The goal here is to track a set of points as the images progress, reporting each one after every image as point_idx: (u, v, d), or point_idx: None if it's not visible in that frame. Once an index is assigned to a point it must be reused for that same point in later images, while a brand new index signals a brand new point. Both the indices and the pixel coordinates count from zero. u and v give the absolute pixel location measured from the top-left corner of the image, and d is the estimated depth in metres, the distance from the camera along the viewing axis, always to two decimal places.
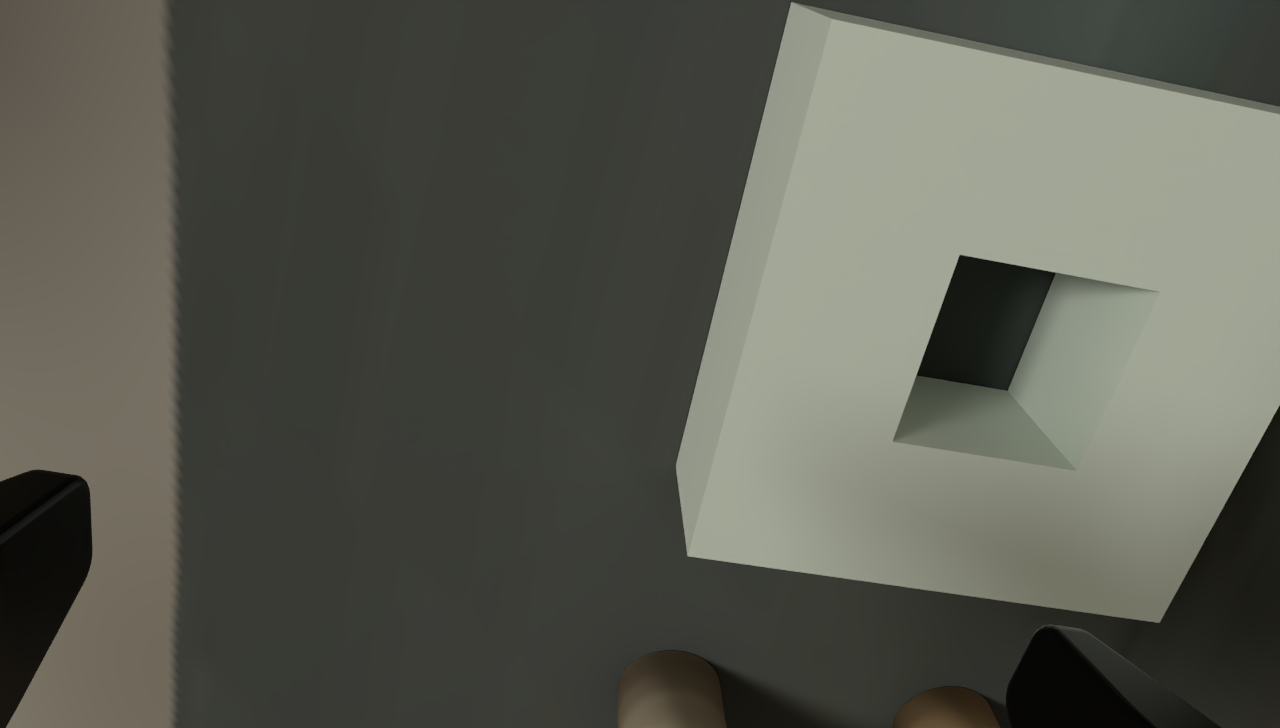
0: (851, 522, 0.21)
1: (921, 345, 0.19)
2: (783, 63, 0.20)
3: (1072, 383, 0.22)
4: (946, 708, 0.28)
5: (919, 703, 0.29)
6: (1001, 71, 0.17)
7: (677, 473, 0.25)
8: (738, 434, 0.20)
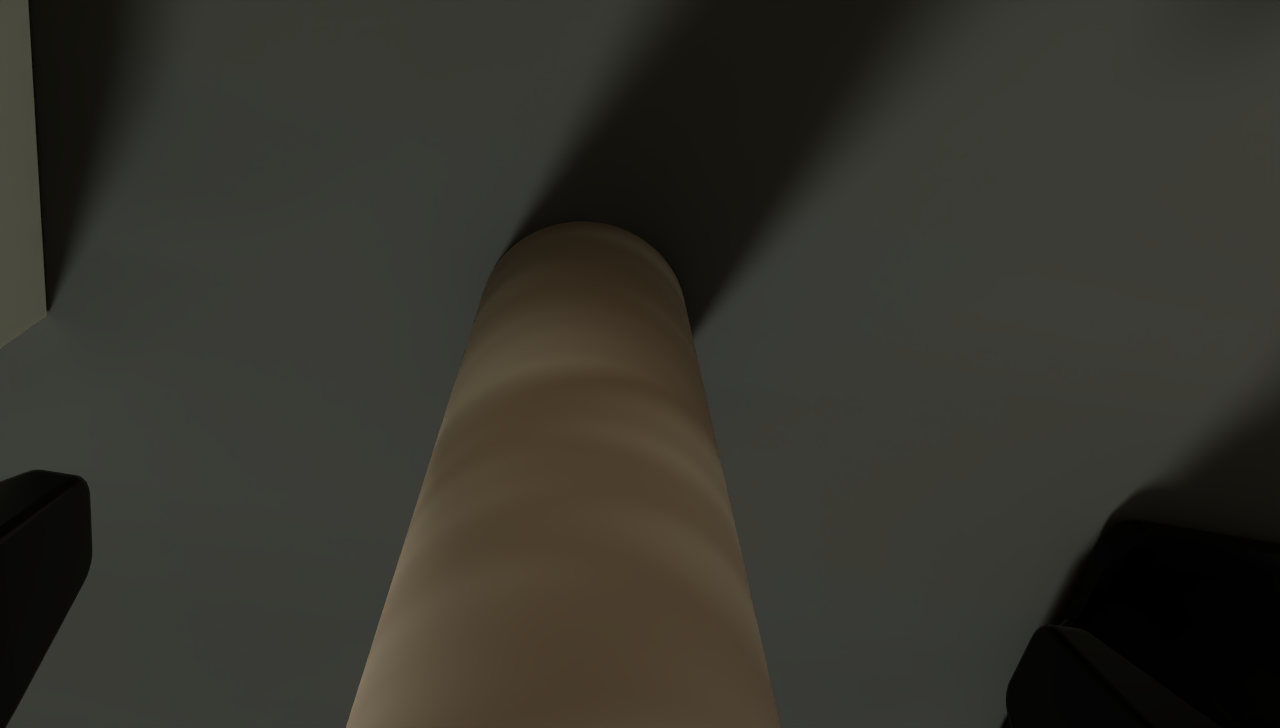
0: None
1: None
2: None
3: None
4: None
5: None
6: None
7: (23, 328, 0.14)
8: None
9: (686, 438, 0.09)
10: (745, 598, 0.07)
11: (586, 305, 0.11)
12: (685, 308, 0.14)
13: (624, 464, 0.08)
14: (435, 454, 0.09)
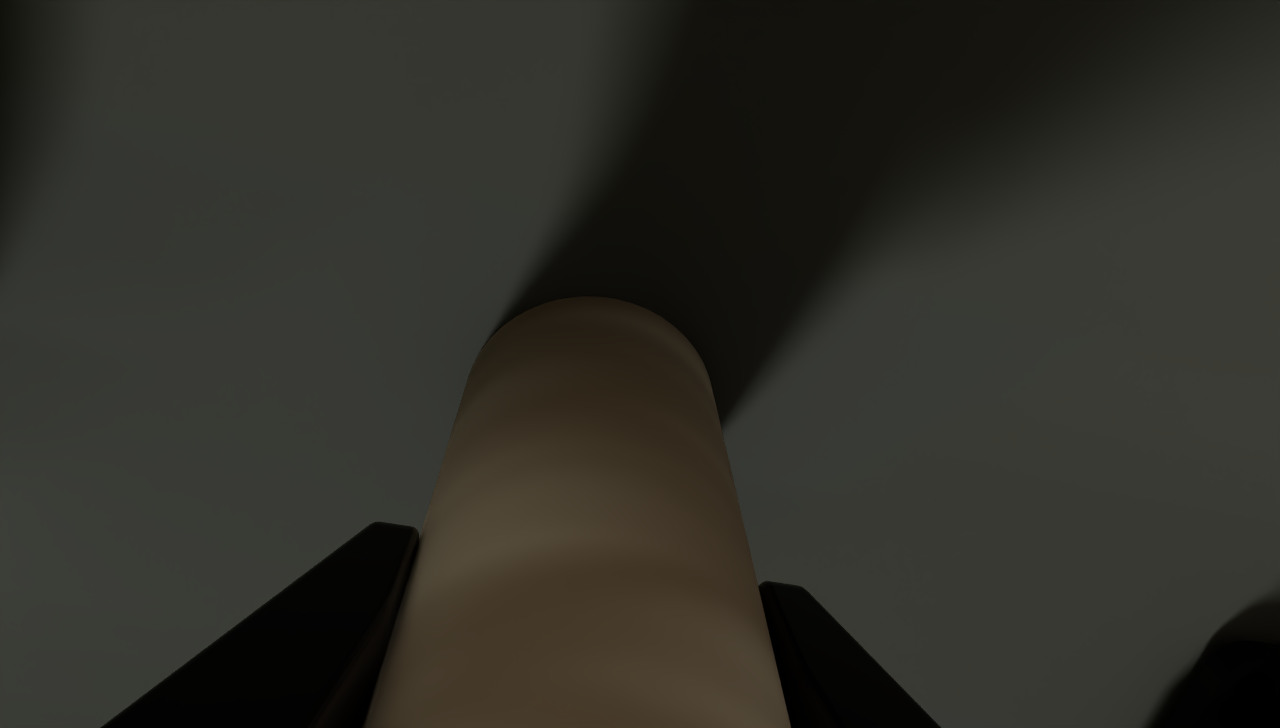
0: None
1: None
2: None
3: None
4: None
5: None
6: None
7: None
8: None
9: (735, 663, 0.06)
10: None
11: (594, 433, 0.08)
12: (715, 406, 0.11)
13: None
14: (385, 668, 0.07)
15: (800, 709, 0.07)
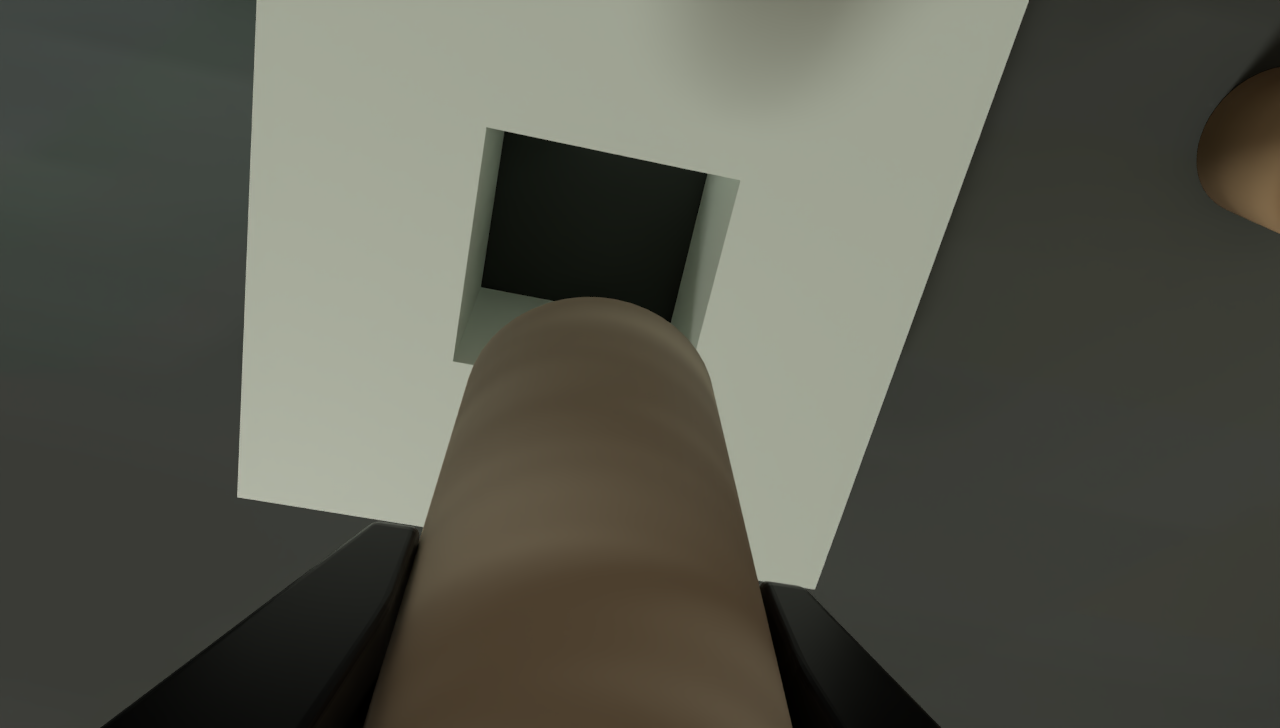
0: (789, 435, 0.18)
1: None
2: None
3: None
4: (1219, 167, 0.19)
5: (1211, 190, 0.20)
6: (258, 348, 0.17)
7: None
8: None
9: (737, 667, 0.06)
10: None
11: (595, 435, 0.08)
12: (716, 407, 0.11)
13: None
14: (384, 672, 0.07)
15: (800, 709, 0.07)
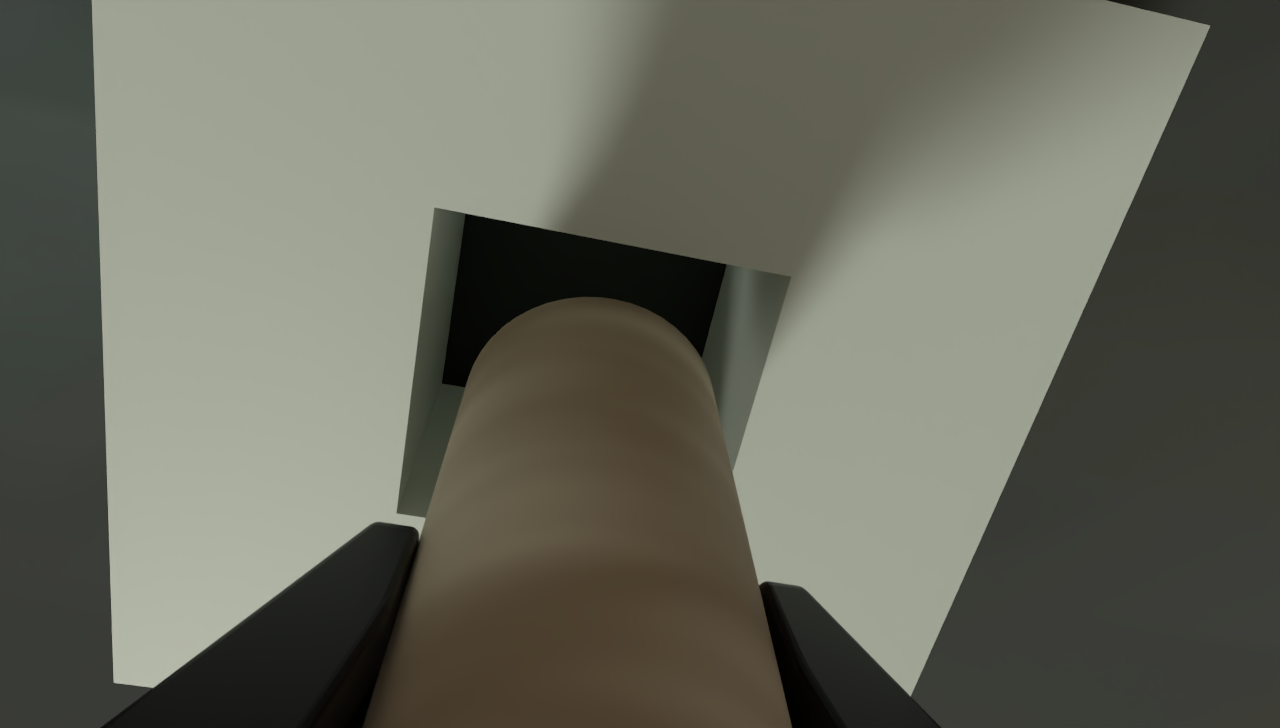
0: (847, 598, 0.14)
1: None
2: None
3: None
4: None
5: None
6: (129, 500, 0.12)
7: None
8: None
9: (737, 668, 0.06)
10: None
11: (595, 435, 0.08)
12: (716, 407, 0.11)
13: None
14: (383, 673, 0.07)
15: (800, 709, 0.07)
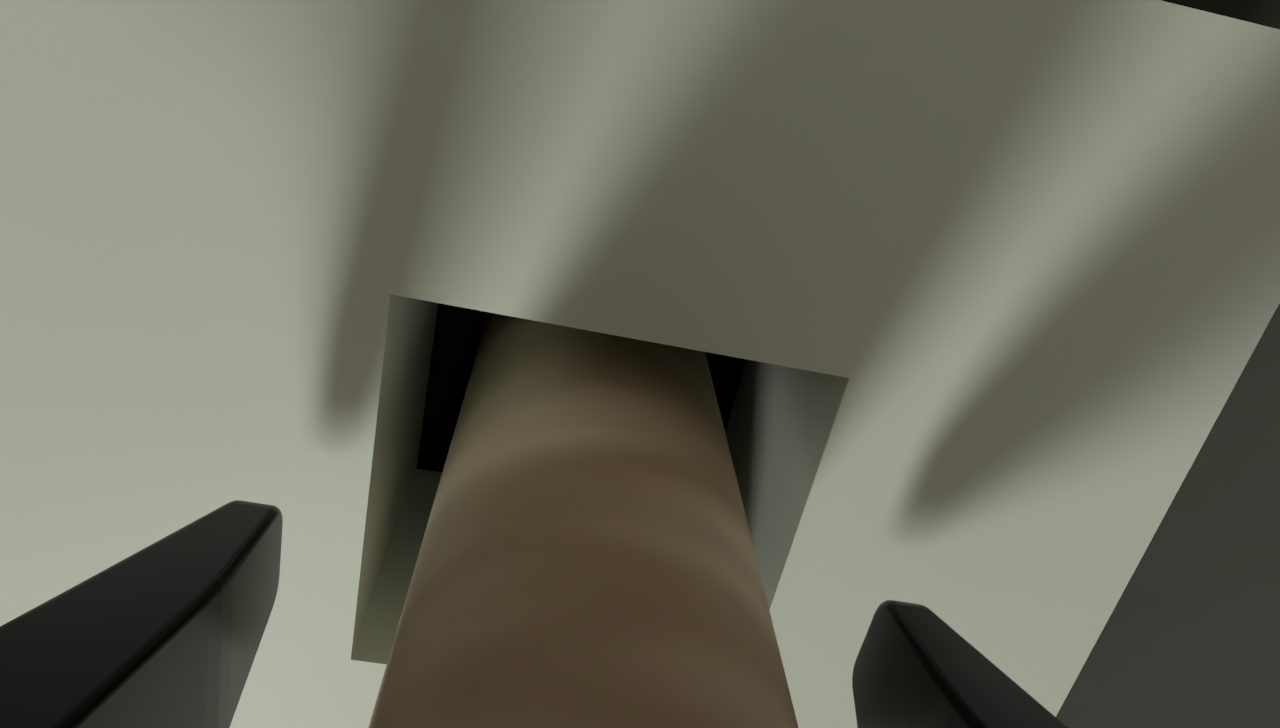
0: None
1: None
2: None
3: None
4: None
5: None
6: None
7: None
8: None
9: (717, 530, 0.08)
10: None
11: (599, 361, 0.10)
12: None
13: (650, 574, 0.06)
14: (426, 543, 0.08)
15: None
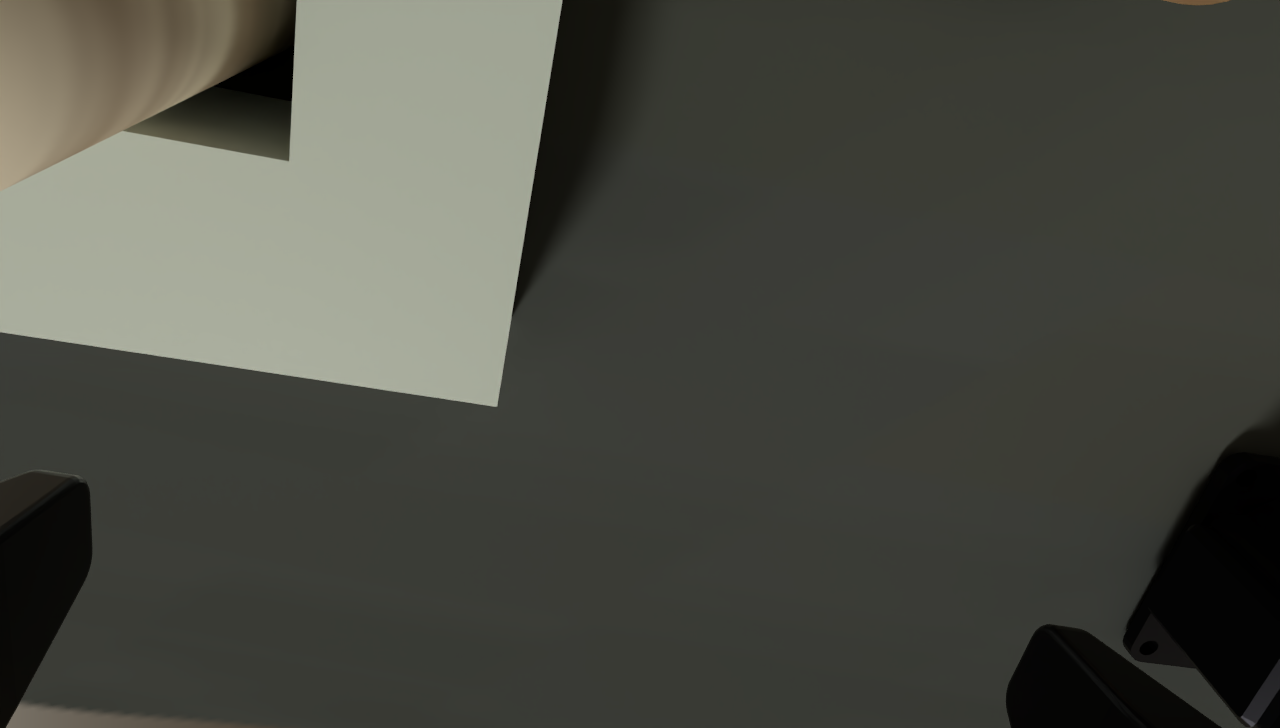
0: (430, 204, 0.15)
1: (132, 140, 0.14)
2: None
3: None
4: None
5: None
6: None
7: None
8: (304, 358, 0.16)
9: None
10: None
11: None
12: None
13: None
14: None
15: None
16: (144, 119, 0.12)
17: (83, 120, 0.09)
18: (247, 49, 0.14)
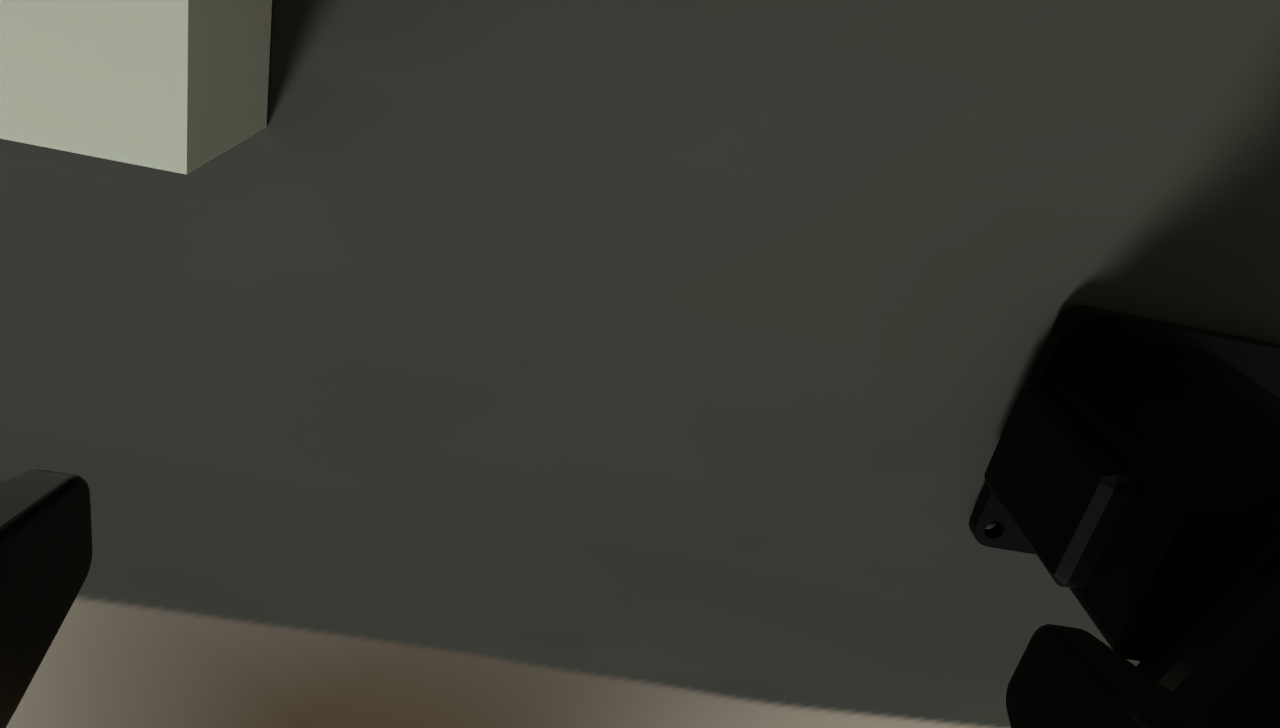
0: None
1: None
2: None
3: None
4: None
5: None
6: None
7: None
8: None
9: None
10: None
11: None
12: None
13: None
14: None
15: None
16: None
17: None
18: None
